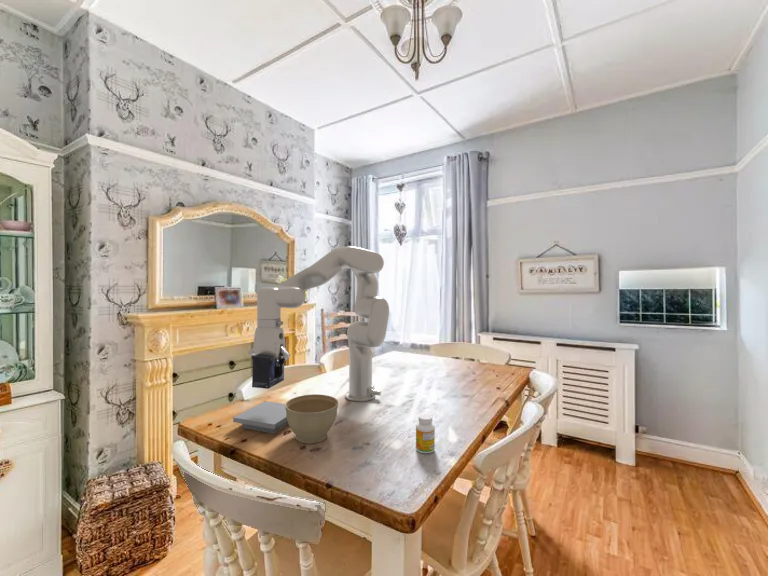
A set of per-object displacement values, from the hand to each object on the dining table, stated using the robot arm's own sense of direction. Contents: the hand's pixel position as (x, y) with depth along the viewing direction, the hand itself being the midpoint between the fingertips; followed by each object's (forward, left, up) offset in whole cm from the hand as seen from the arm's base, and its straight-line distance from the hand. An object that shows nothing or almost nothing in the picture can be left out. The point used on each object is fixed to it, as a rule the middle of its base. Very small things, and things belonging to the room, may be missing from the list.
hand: (268, 375), depth 117 cm
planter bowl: (-19, +4, -17) cm, 26 cm away
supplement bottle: (-54, 0, -17) cm, 57 cm away
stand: (0, 0, -16) cm, 16 cm away
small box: (0, 0, -3) cm, 3 cm away
